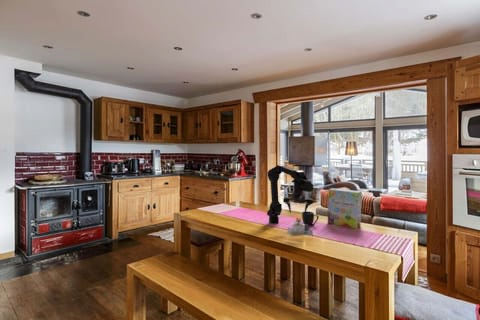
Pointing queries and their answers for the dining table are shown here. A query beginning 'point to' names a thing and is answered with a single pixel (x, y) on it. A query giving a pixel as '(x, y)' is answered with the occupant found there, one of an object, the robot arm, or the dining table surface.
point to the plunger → (298, 220)
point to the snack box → (344, 207)
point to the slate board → (300, 233)
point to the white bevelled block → (299, 227)
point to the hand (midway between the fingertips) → (297, 213)
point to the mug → (309, 218)
